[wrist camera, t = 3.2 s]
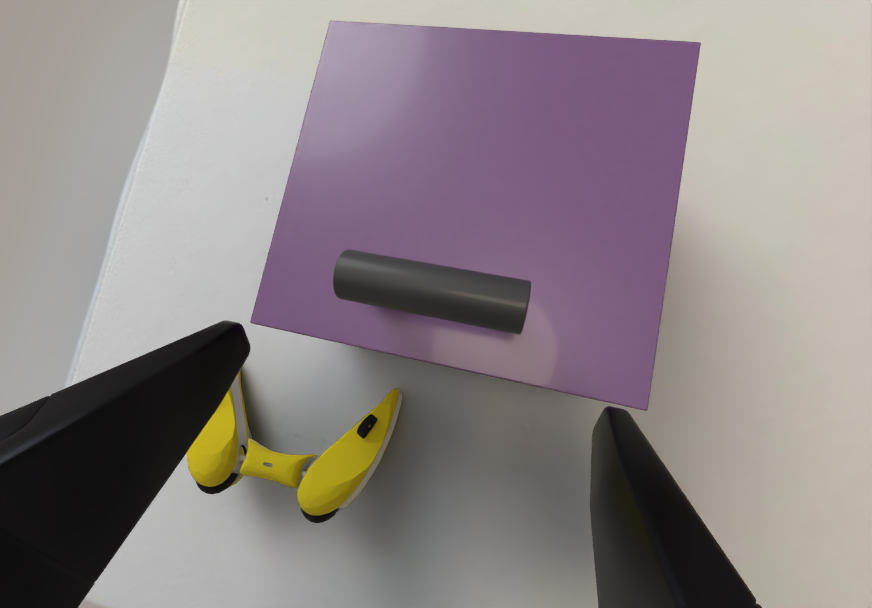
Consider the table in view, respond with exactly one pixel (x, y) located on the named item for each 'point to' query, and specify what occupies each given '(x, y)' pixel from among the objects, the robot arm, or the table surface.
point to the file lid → (487, 202)
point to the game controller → (292, 456)
